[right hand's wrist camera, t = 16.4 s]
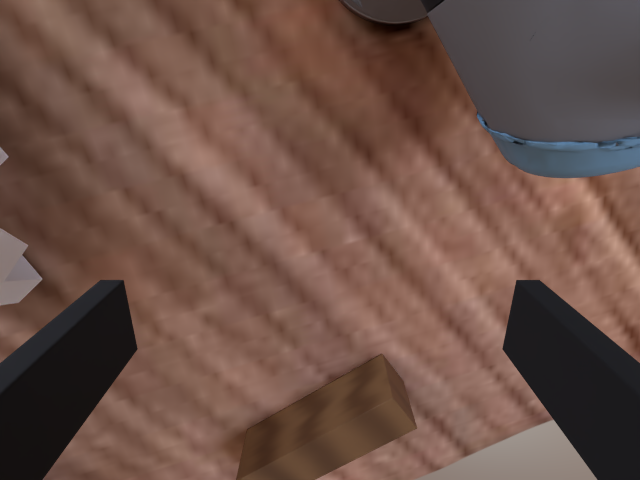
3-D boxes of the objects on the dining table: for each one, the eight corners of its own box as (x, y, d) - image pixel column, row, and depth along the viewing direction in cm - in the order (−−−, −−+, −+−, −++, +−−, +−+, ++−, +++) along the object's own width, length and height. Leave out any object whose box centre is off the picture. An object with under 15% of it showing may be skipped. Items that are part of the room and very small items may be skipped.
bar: (382, 353, 51) (392, 398, 43) (403, 381, 52) (417, 428, 45) (247, 429, 55) (235, 481, 48) (270, 452, 57) (262, 506, 50)
